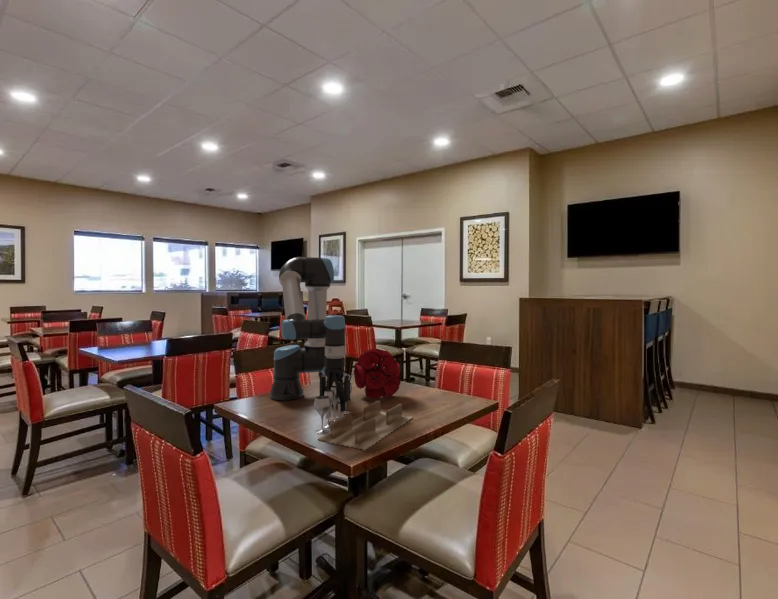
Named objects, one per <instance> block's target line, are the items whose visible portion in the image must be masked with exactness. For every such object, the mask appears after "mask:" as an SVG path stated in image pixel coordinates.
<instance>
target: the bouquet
mask: <svg viewBox="0 0 778 599" xmlns="http://www.w3.org/2000/svg"><path fill="white" fill-rule="evenodd" d="M353 367H354V369H353V375H354V376H353V378H354V382H355V385H356V388H358V389H360V390H361V389H364V392H365V396H366V398H369V399H373V398H379V399H381V398H382V397H383V398H387V397H393V395H394V394H396V393H397V392H398V391H399V389H400V385H401V379H400V374H401V365H400V363H399V362H397V359H395V357H394V356H393V355H392V354H391V352H389V351H388V350H384V349H380V348H371V349H369V350H364V351H362V352H361V353H360V355H359V358H358V359H357V362H356V363H354V366H353Z"/></svg>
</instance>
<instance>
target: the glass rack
mask: <svg viewBox="0 0 778 599" xmlns="http://www.w3.org/2000/svg"><path fill="white" fill-rule="evenodd" d="M352 415H353V414H348V415H345V417H343V418H341V419H339V420H338V419H336V420H337V421H334V422H332V423H330V422H329V425H330V428H329V429H330V431H329V432H328V433H326V434H323V435H322V436H319V437H318V438H317V441H318V440H320V441H319V442H323V441H325V442H324V443H328V442H329V443H328V444H332V443H334V445H337V444H339V445H338V446H341V445H344V446H343V447H346V446H349V447H348V448H351V447H353V448H352V449H355V448H357V449H356V450H360V449H362V450H361V451H367V450H369V449H370V448H371V447H373V446H374V445H376V444H377V443H378V442H380V441H382V440H383V439H385V438H386V437H387V436H389V435H390V434H392V433H393V432H395V431H396V430H398V429H399V428H401V427H402V426H403V424H404V425H405V424H407V423H408V422H410V421H411V420H413V419H414V417H413V416H409V415H403V403H398V404H395V405H394V406H392V407H390V408H389V409H387V410H386V412H385V411H381V400H376V401H374V402H371V403H370V404H367V405H366V406H364V407H363V415H360V416H359V417H357V418H354V419H353V418H352ZM412 418H413V419H412ZM410 419H411V420H410ZM409 420H410V421H409ZM407 421H408V422H407ZM406 422H407V423H406ZM400 426H401V427H400ZM397 428H398V429H397ZM394 430H395V431H394ZM391 432H392V433H391ZM388 434H389V435H388ZM385 436H386V437H385ZM382 438H383V439H382ZM379 440H380V441H379ZM376 442H377V443H376ZM372 445H373V446H372ZM369 447H370V448H369ZM366 449H367V450H366Z"/></svg>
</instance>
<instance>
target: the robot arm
mask: <svg viewBox="0 0 778 599" xmlns="http://www.w3.org/2000/svg"><path fill="white" fill-rule="evenodd" d="M334 270H335V269H334V266H333V262H332V260H331V259H330V258H327V257H310V256H309V257H308V256H307V257H305V256H304V257H303V256H296V257H293V258H290V259H289V260H287V261H286V262H285V263H284V264H283V265H282V267H281V268H280V270H279V274H278V280H279V281H278V282H279V284H280V285H281V287H282V296H283V307H284V315H285V319H283V320H282V321H281V327H280V328H281V337H282V339H283V340H306V339H307V340H306V342H304V344H303V347H300V345H298V344H289V345H284V346H281V347H277V348H276V349H275V350H274V351H273V358H272V359H273V383H272V385H271V388H270V391H269V398H270V399H271V400H275V401H293V400H298V399H301V398H303V397H304V389H303V386H302V383H301V380H300V378H301V377H300V374H307V373H309V374H310V373H317V375H318V378H319V396H324V392H325V390H330V388H331V386H334V385H333V384H336V386H337V390H338V395H339V400H340V402H339V401H338V402H337V415H338V419H337V420H339V419H341V418H343V417H344V411H345V403H346V402H347V403H348V402H350V401H351V394H350V383H351V380H352V374H347V373H346V371H345V366H346V358H345V356H346V343H345V342H346V318H345V316H343V315H335V314H334V315H333V314H332V315H331V314H330V315H327V308H328V307H327V304H328V303H327V302H328V301H327V299H328V297H327V296H328V290H329V289H330V288H331V284H333V283H334V282H335V271H334ZM301 283H304V287H305V288H306V289H307V292H308V294H307V297H308V298H307V319H306V314H305V308H304V302H303V295H302V289H301ZM343 383H344V387H343ZM302 396H303V397H302ZM300 397H301V398H300ZM292 399H293V400H292ZM332 410H333V409H332V406H331V408H330V414H329V419H331V418H333V417H332V414H333V413H332ZM325 419H327V420H328V411H327V412H326V413H325Z"/></svg>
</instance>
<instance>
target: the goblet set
mask: <svg viewBox="0 0 778 599" xmlns="http://www.w3.org/2000/svg"><path fill="white" fill-rule="evenodd" d="M333 384H334V385H333V386H331V388H330V390H325V392H324V396H320V395H318V396H316V397H315V398H314V401H313V409H314V410H315V411H316V412H317V414H319V416H320V419H321V429H317V430H315V433H316V434H317V433H319V434H318V435H326V434H328V433H330V431H329V430H328V429H330V423H332V422H334V421H337V420H338V419H336V418H338V416H337V415H336V411H337V410H336V408H337V406H338V403H339V402H340V400H339V395H338V390H337V386H336V384H335V383H333ZM343 387H344V382H343ZM352 389H353V386H352V383H351V382H350V395H351V394H352ZM347 404H348V402H346V403H345V411H344V414H348V415H350V414H349V413H351V414H352V411H350V410H349V411H350V412H349V411H348V410H347ZM332 405H333V411H334V412H333V414H334V415H333V416H334V419H331V420H330V418H329V414H330V408H331V406H332ZM327 411H328V419H327V420H328V422H327V423H328V424H325V425H324V416H326V412H327ZM345 416H346V415H345ZM345 416H344V417H345ZM323 426H324V427H325V428H324V427H323ZM325 433H326V434H325Z"/></svg>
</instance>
